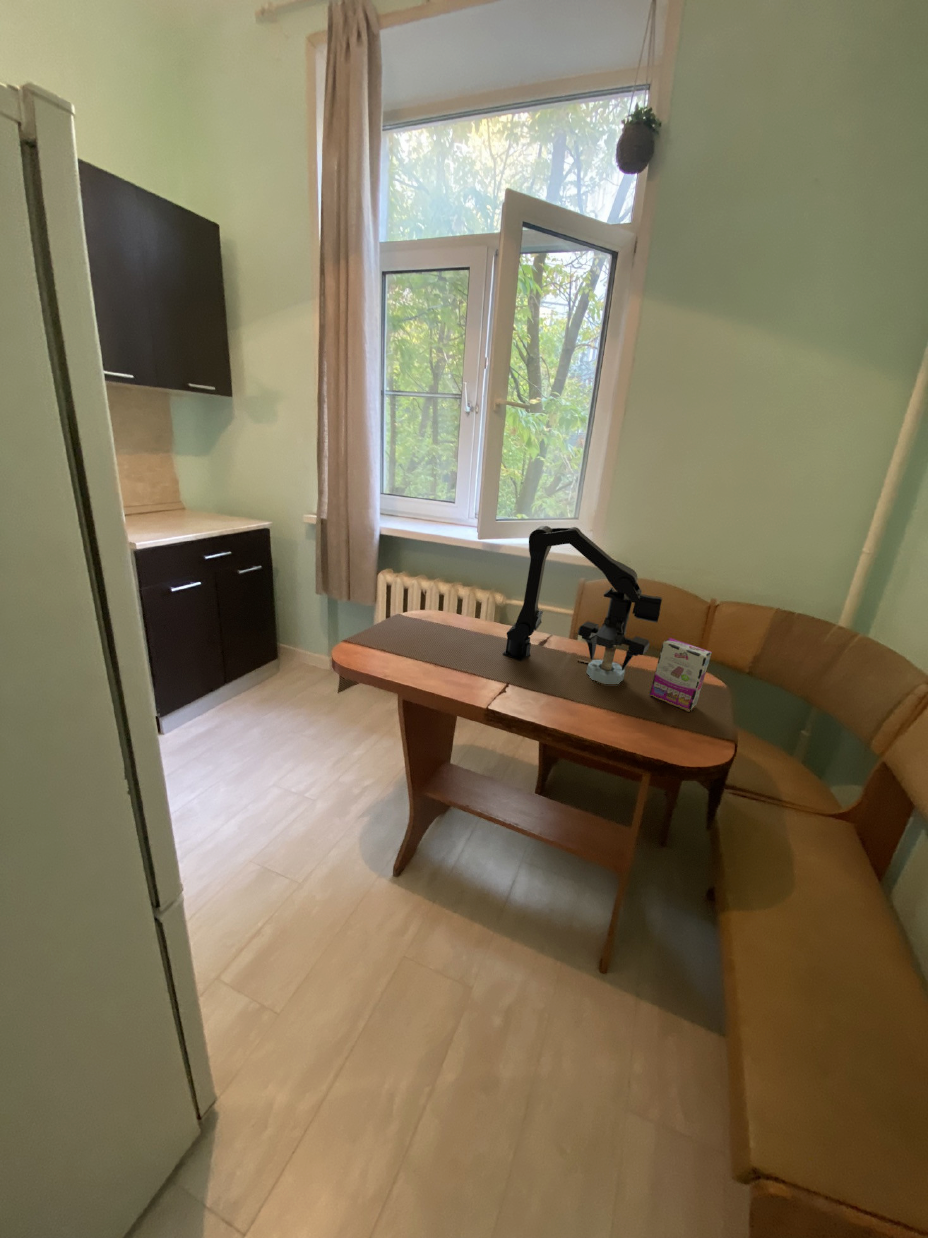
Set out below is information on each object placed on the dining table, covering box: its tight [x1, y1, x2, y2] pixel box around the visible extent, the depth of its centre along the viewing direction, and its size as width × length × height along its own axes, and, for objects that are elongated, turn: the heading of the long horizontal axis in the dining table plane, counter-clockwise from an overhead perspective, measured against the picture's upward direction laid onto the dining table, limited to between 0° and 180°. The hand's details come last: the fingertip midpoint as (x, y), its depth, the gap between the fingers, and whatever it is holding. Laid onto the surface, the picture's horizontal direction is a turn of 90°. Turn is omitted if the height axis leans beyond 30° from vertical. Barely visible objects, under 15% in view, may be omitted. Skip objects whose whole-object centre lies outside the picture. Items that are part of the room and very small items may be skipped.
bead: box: [585, 659, 626, 685], centre depth 139 cm, size 10×10×3 cm
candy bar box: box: [649, 637, 713, 711], centre depth 127 cm, size 11×5×16 cm, turn 47°
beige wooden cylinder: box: [601, 645, 617, 671], centre depth 138 cm, size 3×3×10 cm
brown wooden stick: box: [577, 658, 591, 665], centre depth 146 cm, size 12×1×1 cm, turn 67°
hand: (607, 664), depth 138 cm, fingers open, 9 cm apart
